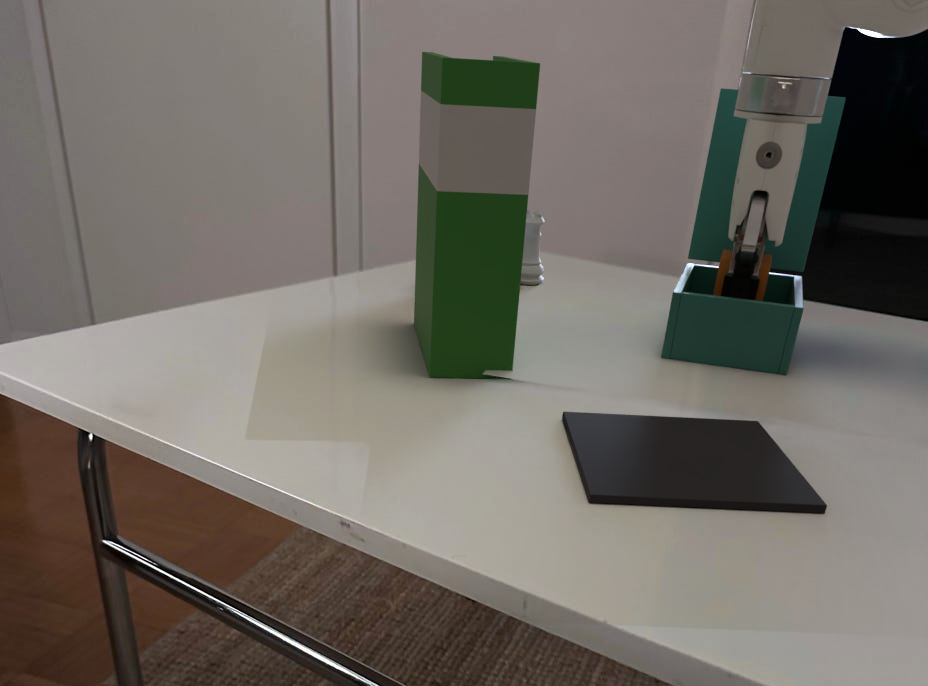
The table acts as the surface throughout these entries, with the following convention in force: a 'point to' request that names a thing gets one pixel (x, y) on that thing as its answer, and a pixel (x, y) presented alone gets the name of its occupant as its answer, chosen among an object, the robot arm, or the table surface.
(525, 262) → the rook chess piece
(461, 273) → the green and white box
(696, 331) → the lunchbox
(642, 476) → the mat
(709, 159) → the lunchbox lid
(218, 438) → the table surface
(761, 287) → the carton
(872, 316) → the table surface
